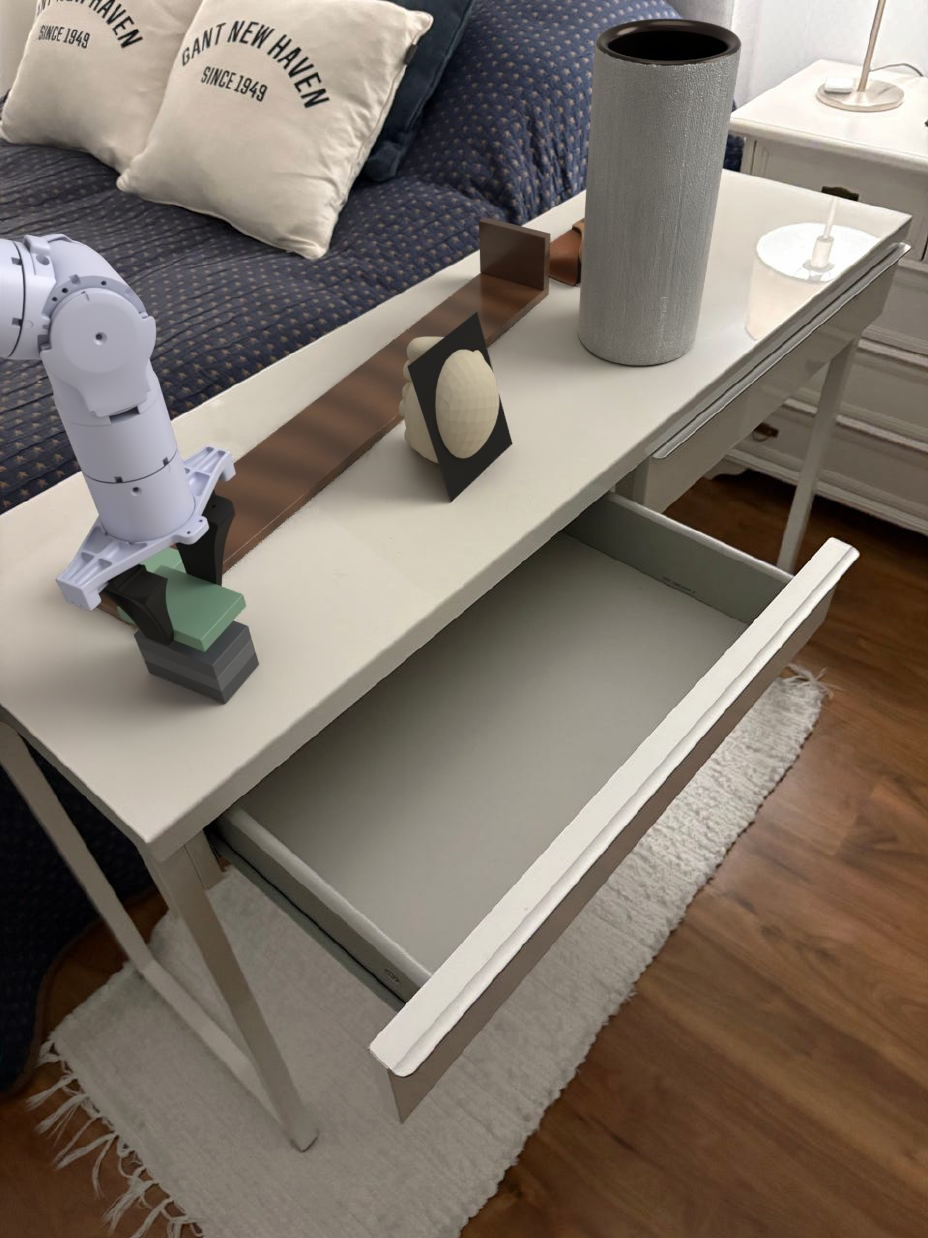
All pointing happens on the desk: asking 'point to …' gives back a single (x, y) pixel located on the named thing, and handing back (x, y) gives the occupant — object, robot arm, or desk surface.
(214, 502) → the robot arm
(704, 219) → the planter
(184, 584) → the sage book
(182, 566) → the green flat block
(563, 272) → the sunglasses case
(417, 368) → the decorative object
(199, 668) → the grey books
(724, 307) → the desk surface
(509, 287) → the book ledge
